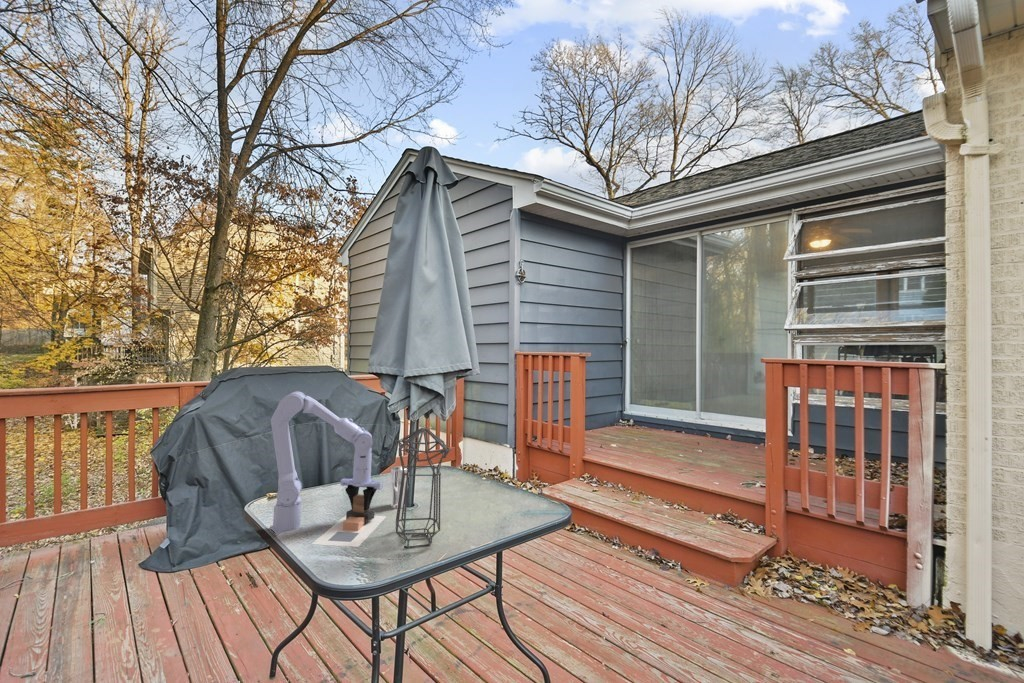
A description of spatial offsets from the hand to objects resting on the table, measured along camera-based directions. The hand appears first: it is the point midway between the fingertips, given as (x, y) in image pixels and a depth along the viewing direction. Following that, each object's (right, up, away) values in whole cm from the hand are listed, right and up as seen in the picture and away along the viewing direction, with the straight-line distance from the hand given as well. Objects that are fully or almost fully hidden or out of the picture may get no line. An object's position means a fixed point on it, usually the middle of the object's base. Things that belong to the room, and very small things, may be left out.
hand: (360, 508), depth 153 cm
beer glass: (+8, -6, +17) cm, 20 cm away
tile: (0, -4, -6) cm, 7 cm away
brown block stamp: (0, -3, 0) cm, 3 cm away
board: (0, -5, -7) cm, 9 cm away
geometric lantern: (+22, -6, -11) cm, 25 cm away
